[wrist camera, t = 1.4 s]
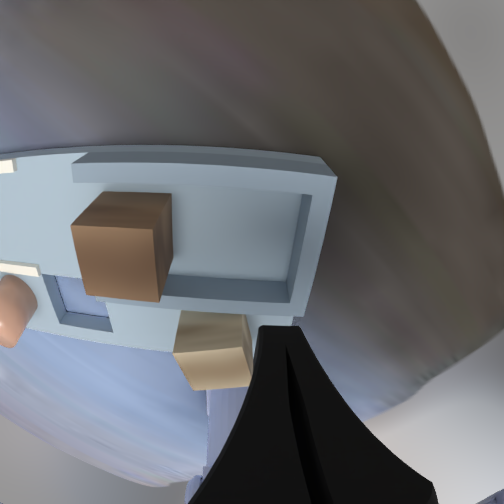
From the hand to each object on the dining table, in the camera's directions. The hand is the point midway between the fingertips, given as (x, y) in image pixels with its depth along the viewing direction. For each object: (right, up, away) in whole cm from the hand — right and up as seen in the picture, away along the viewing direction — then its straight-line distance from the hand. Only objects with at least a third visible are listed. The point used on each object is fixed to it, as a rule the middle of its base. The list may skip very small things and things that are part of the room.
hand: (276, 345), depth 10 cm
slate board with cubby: (-10, +3, +9) cm, 14 cm away
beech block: (-3, -2, +10) cm, 11 cm away
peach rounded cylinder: (-19, 0, +9) cm, 21 cm away
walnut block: (-7, +5, +6) cm, 11 cm away
